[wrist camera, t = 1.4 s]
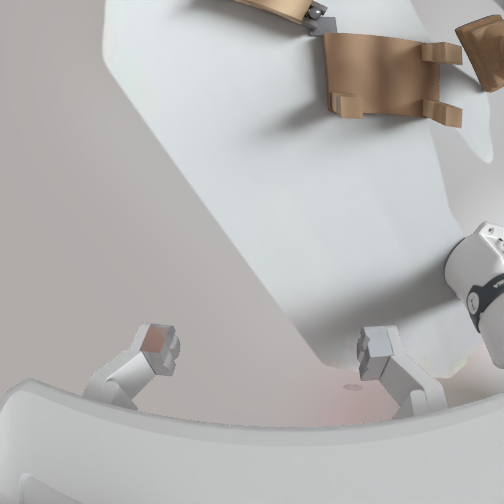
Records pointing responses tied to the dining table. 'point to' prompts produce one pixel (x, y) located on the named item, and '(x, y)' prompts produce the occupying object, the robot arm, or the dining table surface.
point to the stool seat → (387, 76)
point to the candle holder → (485, 50)
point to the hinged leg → (289, 9)
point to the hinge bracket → (321, 23)
